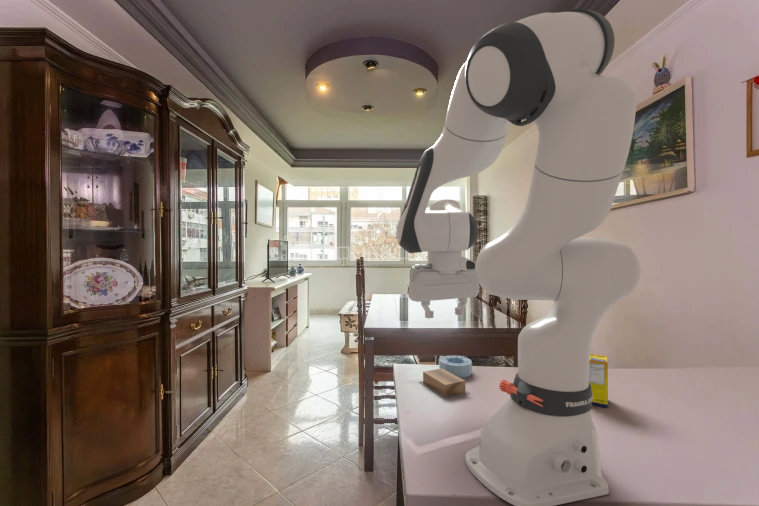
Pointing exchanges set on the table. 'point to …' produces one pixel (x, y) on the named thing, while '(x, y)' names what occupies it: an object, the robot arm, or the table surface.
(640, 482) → the table surface
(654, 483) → the table surface
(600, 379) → the supplement box
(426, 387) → the mat
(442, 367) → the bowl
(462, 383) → the tan rectangular sponge
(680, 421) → the table surface
